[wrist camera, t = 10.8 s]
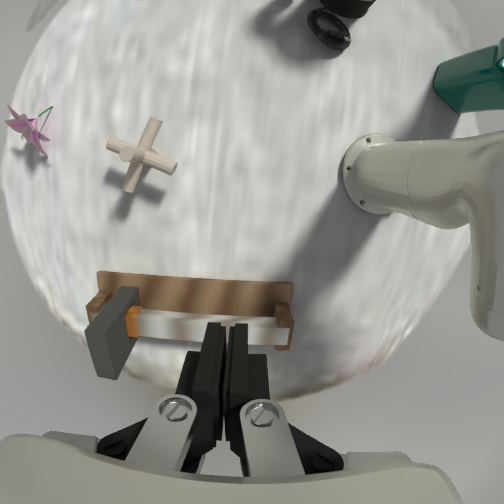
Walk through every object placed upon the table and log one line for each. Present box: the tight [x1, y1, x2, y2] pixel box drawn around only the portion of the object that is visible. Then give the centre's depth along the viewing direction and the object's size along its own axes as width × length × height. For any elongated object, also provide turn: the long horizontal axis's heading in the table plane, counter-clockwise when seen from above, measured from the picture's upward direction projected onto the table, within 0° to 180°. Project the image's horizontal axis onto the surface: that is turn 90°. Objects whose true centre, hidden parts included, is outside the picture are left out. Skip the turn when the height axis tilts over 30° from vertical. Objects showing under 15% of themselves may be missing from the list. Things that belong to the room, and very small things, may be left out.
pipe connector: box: [106, 117, 177, 193], centre depth 32 cm, size 10×10×10 cm
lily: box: [5, 104, 53, 157], centre depth 31 cm, size 12×12×10 cm
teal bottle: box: [434, 38, 504, 113], centre depth 24 cm, size 10×8×22 cm
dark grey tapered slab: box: [84, 286, 140, 380], centre depth 36 cm, size 3×8×14 cm, turn 176°
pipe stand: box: [86, 271, 294, 350], centre depth 41 cm, size 32×11×7 cm, turn 86°
